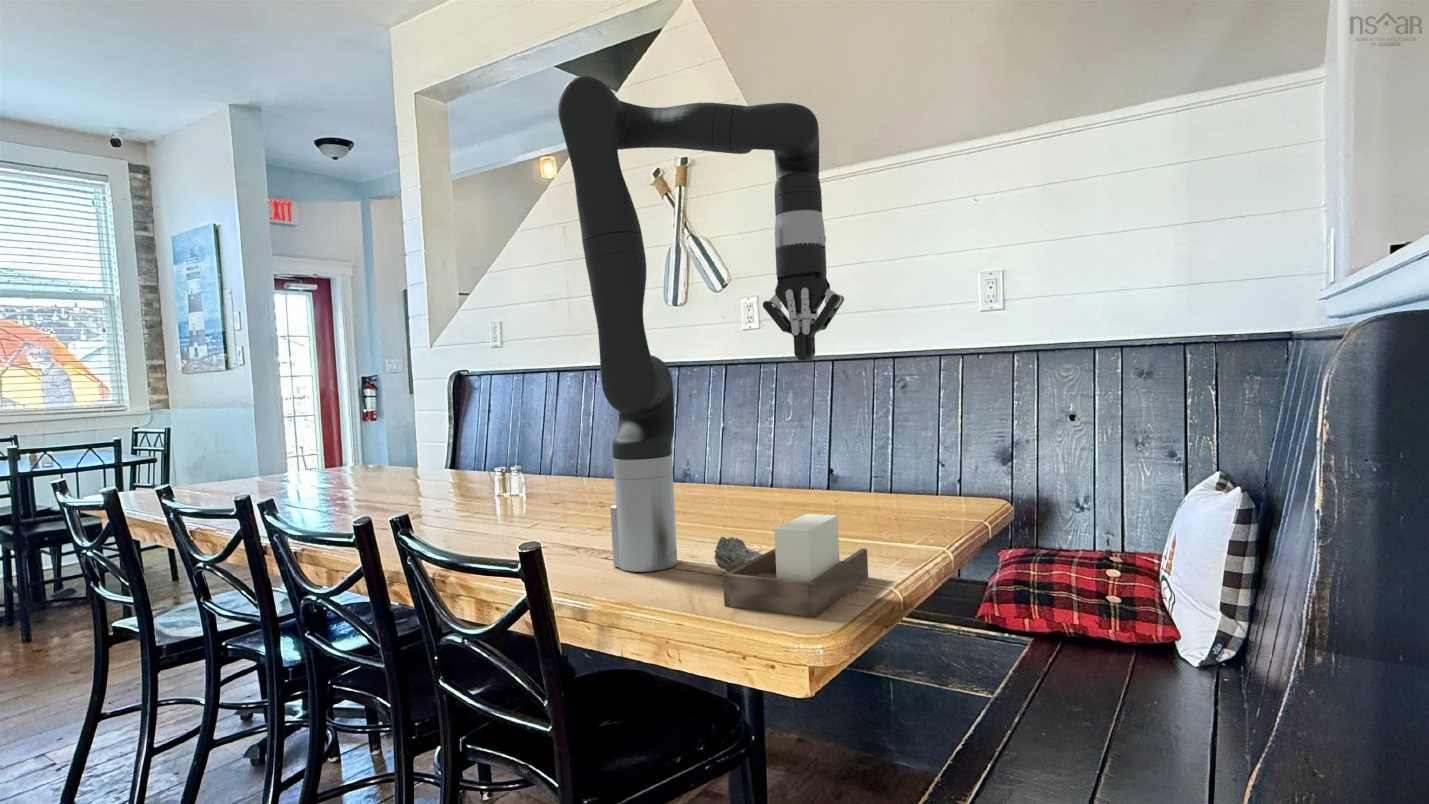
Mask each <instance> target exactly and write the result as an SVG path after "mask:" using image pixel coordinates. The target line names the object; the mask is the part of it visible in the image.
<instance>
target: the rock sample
mask: <svg viewBox="0 0 1429 804" xmlns="http://www.w3.org/2000/svg"><path fill="white" fill-rule="evenodd" d="M722 534H723V533H722ZM761 555H763V554H762V553H760V552H759V551H757V550H755V549H754V550H753V549H750V548H748V547H747V546H746V544H745V542H744V541H743V540H742V539H739V538H738V537H732V536H731V537H727V538H726V537H724V536H720V538H719V540H718V541H717V545H716V547H715V550H714V552H713V556H714V557H713V559H714V561H715V563H716V565H717V566H718V567H719V568H720V569H722V570H725V571H727V573H728V572H730V571H732V570H734V569H735V568H737V567H739V566H741V565H743V564H745V563H747V562H749V561H751V560H753V559H755V558H757V557H759V556H761Z"/></svg>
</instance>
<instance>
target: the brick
mask: <svg viewBox="0 0 1429 804" xmlns="http://www.w3.org/2000/svg"><path fill="white" fill-rule="evenodd" d="M838 517H839V516H838V515H831V514H814V513H812V514H811V513H810V514H809V513H805V514H803V515H801V516H800V517H797V518H795V519H792V520H790V521H788V522H785V523H783V524H782V525H779V526H778V527H775V528H774V549H775V555H776V576H777V579H787V580H797V581H807V582H811V581H813V580H814V579H816V578H817V577H819V576H820V575H822V574H823V573H825V572H826V571H828V570H829V569H831V568H832V567H834V566H836V565H837V564H839V563H840V561H841V560H840V543H839V542H840V539H839V520H838Z"/></svg>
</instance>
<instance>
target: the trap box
mask: <svg viewBox="0 0 1429 804" xmlns="http://www.w3.org/2000/svg"><path fill="white" fill-rule="evenodd" d="M868 560H869V559H868V549H867V548H860V549H859V550H856V552H854V553H852V554H851V555H849V556H848V557H847V558H844V559H842V560H840V563H839V564H837V565H836V566H834V567H832V568H831V569H829V570H828V571H826V572H825V573H823V574H822V575H820V576H819V577H817V578H816V579H814V580H813V581H811V582H807V581H797V580H787V579H777V576H776V555H775V548H774V549H773V548H772V549H771V550H769V551H768V552H765V553H763V554H762V555H761V556H759V557H757V558H755V559H753V560H751V561H749V562H747V563H745V564H743V565H741V566H739V567H737V568H735V569H734V570H732V571H730V572H728V571H727V572H726V573H724V574H722V579H723V582H722V585H723V600H724V607H731V608H739V609H747V610H753V611H762V612H763V611H764V612H768V613H769V612H770V613H779V614H787V615H795V616H803V617H810V618H817V617H818V616H819V615H821V614H822V613H823V612H824V610H825V609H826V610H827V609H829V607H831V606H833V605H834V604H836V602H838V601H839V600H840V599H842V598H843V597H844V596H845V595H847V594H848V593H850V592H851V591H852V590H854V589H855V588H856V587H857V586H859V585H860V584H861V583H863V582H864V581H865V580H867V579H868V578H869V566H868V565H869V564H868V563H869V562H868ZM826 610H825V611H826Z"/></svg>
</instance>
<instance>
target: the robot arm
mask: <svg viewBox="0 0 1429 804" xmlns="http://www.w3.org/2000/svg"><path fill="white" fill-rule="evenodd" d="M557 113H558V119H559V123H560V127H561V131H562V134H563V138H564V142H565V145H566V148H567V152H568V153H567V154H568V156H569V160H570V164H571V168H572V173H573V178H574V179H573V180H574V186H575V187H574V188H575V196H576V204H577V212H578V218H579V224H580V231H581V241H582V247H583V248H582V249H583V254H584V260H585V264H586V270H587V271H586V272H587V274H588V280H589V287H590V292H591V297H592V304H593V309H594V314H595V318H596V319H595V320H596V324H597V325H596V326H597V332H598V345H599V346H598V347H599V349H598V350H599V360H600V361H599V366H600V381H601V387H602V392H603V395H604V398H605V399H606V401H607V402H608V403H609V405H610V406H611V407H612V408H613V409H614V410H615V411H617V412H618V427H617V428H618V429H617V432H616V435H615V437H614V438H613V440H612V449H611V451H612V464H613V466H612V467H613V479H614V480H613V482H614V483H613V484H614V501H615V502H614V503H615V504H614V505H611V507H610V524H611V527H610V528H611V540H612V542H611V543H612V544H611V546H612V561H613V567H616V568H619V569H621V570H622V571H626V572H639V573H641V572H645V573H646V572H655V571H662V570H666V569H669V568H670V569H671V568H672V567H674V566H676V565H677V564H678V549H677V529H676V526H677V525H676V511H675V509H676V507H675V491H674V490H675V489H674V473H673V472H674V471H673V455H672V453H673V450H672V448H673V445H672V443H673V438H674V434H675V402H674V401H675V400H674V395H675V394H674V383H673V379H672V374H671V371H670V369H669V367H668V365H667V364H666V363H665V362H664V361H663V360H662V359H660V358H659V357H657V356H656V355H651V353H650V352H651V351H650V349H649V345H648V344H649V343H648V340H647V339H648V338H647V336H646V335H647V334H646V329H645V323H644V304H645V303H644V302H645V295H646V285H647V284H646V283H647V259H646V251H645V245H644V239H643V234H642V228H641V224H640V221H639V217H638V214H637V211H636V208H635V205H634V201H633V199H632V196H631V194H630V191H629V189H628V186H627V184H626V180H625V178H624V177H625V176H624V175H623V172H622V171H623V170H622V169H621V163H620V158H619V153H618V152H619V151H618V150H630V149H644V148H645V149H649V148H651V149H653V148H655V149H656V148H657V149H658V148H660V149H661V148H662V149H663V148H665V149H682V150H694V151H703V152H711V153H724V154H733V155H735V154H736V155H745V154H748V153H749V154H750V152H751V151H754V150H759V151H760V150H762V151H766V150H767V151H773V153H774V162H775V177H776V181H775V185H774V211H775V212H774V214H775V220H774V222H775V223H774V245H775V246H774V248H775V250H774V252H775V269H776V270H775V271H776V279H777V283H776V286H775V289H774V293H775V294H773V296H772V297H771V298H770V299H769V300H764V301H763V303H762V307H763V309H764V310H765V311H766V313H767V314H768V315H769V316H770V317H771V319H772V320H773V321H774V323H775V324H776V326H778V327H779V329H780V330H781V331H782V332H784V333H788V334H790V335H792V337H793V349H794V351H793V352H794V356H795V358H797V360H798V361H812V360H813V357H814V356H815V354H816V341H815V339H816V337H815V336H816V334H817V333H818V332H820V331H824V330H826V329H827V327H829V325H830V323H831V321H832V320H833V319H834V317H835V315H836V314H837V312H838V311H839V309H840V308H841V306H842V305H843V303H844V301H845V297H844V296H843V295H842V294H841V295H840V294H838V293H836V292H835V291H833V290H832V289H831V285H830V282H829V281H828V278H827V273H828V272H827V271H828V270H827V255H826V254H827V253H826V250H827V249H826V241H827V237H826V230H825V229H826V228H825V224H824V216H823V201H822V197H823V195H822V188H821V182H820V132H819V122H818V119H817V117H816V115H815V114H814V112H813V111H812V110H811V109H810V108H808V107H806V106H804V105H802V104H797V103H792V102H774V103H773V102H772V103H761V104H755V105H748V106H747V105H742V104H732V103H720V102H719V103H718V102H693V103H691V102H690V103H685V104H680V105H679V104H678V105H674V106H666V107H664V106H663V107H654V106H652V107H649V106H642V105H639V104H638V105H637V104H634V103H633V104H632V103H631V102H627V101H622V100H620V99H619V98H618V97H617V96H616V94H615V93H614V91H613V90H612V89H611V88H610V87H609V86H608V85H607V84H605V83H604V82H603V81H601V80H599V79H598V78H595V77H593V76H589V75H580V76H576V77H574V78H572V79H571V80H570V81H568V82H567V83H566V84H565V86H564V87H563V89H562V91H561V93H560V95H559V99H558V104H557ZM823 302H824V304H825V305H824V307H823V308H822V310H821V311H820V313H819V309H820V307H821V305H822V304H823ZM783 307H784V308H785V309H786V311H788V312H787V314H788V315H786V314H785V313H784V311H783V310H782V308H783ZM818 313H819V314H818Z"/></svg>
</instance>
